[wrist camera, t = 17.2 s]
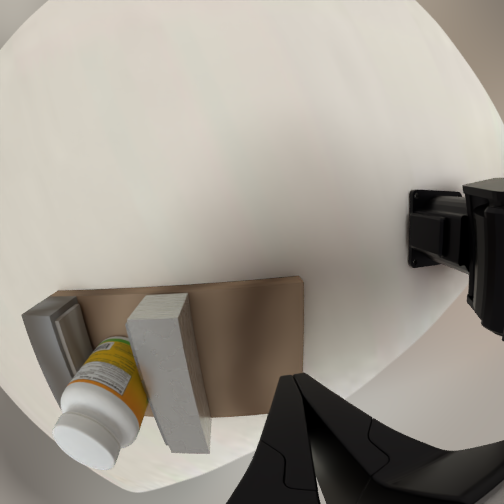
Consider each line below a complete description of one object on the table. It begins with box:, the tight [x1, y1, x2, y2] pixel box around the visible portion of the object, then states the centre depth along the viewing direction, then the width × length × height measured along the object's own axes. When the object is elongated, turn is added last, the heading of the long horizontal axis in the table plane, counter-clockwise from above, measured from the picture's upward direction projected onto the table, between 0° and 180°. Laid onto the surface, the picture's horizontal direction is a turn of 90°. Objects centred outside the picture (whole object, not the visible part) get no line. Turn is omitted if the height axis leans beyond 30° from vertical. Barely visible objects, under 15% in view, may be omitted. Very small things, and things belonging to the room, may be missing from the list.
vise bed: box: [22, 276, 304, 418], centre depth 18 cm, size 20×12×6 cm, turn 94°
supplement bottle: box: [52, 336, 149, 470], centre depth 14 cm, size 5×5×10 cm
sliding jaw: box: [125, 293, 211, 454], centre depth 17 cm, size 3×12×4 cm, turn 4°
